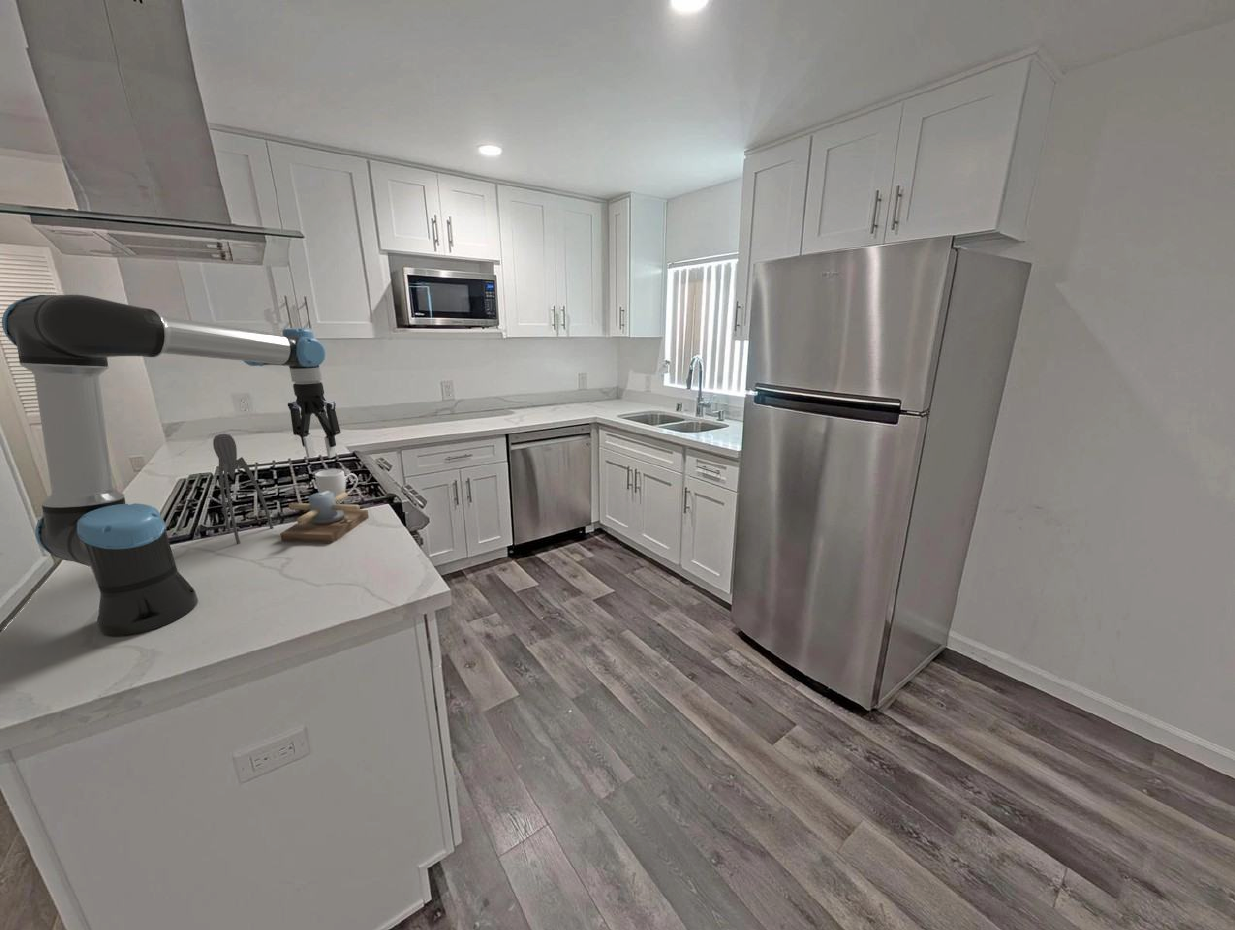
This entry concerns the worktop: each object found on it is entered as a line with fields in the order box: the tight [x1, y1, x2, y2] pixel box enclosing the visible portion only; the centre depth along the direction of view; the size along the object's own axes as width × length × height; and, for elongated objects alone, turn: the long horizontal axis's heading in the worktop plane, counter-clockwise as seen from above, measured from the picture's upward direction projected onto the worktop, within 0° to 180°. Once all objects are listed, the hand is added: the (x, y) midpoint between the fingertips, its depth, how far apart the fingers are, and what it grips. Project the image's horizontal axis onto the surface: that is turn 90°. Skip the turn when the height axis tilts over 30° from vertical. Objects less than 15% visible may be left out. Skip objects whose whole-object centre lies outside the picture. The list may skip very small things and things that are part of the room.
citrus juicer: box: [212, 433, 274, 545], centre depth 135 cm, size 11×10×30 cm
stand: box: [279, 509, 369, 544], centre depth 142 cm, size 18×15×4 cm
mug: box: [314, 468, 359, 504], centre depth 161 cm, size 12×8×11 cm
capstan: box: [288, 491, 361, 525], centre depth 141 cm, size 21×21×8 cm
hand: (321, 456), depth 149 cm, fingers open, 6 cm apart
